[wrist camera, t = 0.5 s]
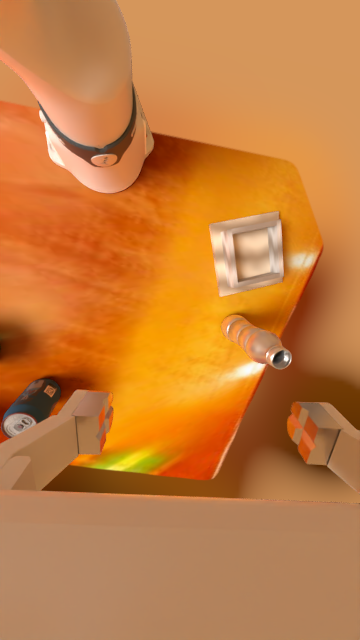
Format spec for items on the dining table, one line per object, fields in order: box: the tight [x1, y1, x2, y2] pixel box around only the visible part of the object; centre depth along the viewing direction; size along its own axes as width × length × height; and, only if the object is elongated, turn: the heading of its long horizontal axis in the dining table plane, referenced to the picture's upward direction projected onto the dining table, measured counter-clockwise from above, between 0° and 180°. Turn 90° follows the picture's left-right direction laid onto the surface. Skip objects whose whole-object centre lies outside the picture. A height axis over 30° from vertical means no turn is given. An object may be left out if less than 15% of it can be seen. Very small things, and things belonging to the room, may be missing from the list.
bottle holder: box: [209, 211, 284, 297], centre depth 48 cm, size 16×16×4 cm
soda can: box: [1, 379, 61, 438], centre depth 44 cm, size 7×7×12 cm
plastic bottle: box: [221, 315, 292, 369], centre depth 45 cm, size 6×7×20 cm
